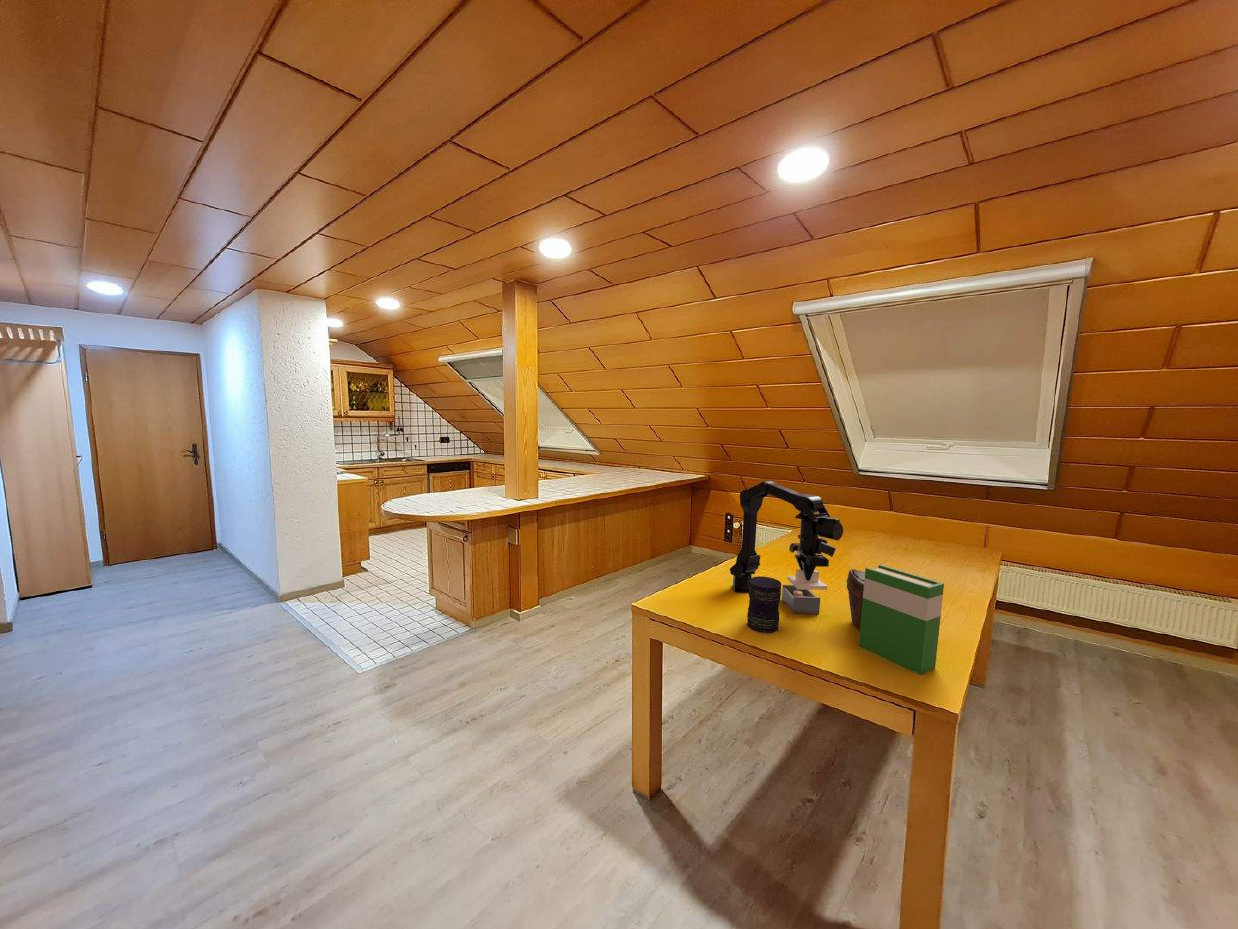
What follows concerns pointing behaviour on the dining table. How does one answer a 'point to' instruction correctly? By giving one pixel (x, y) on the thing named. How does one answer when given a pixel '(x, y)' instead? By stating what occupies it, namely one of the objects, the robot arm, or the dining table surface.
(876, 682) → the dining table surface
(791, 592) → the grey open box
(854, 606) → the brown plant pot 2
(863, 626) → the hardback book
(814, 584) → the lid
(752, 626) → the storage jar
